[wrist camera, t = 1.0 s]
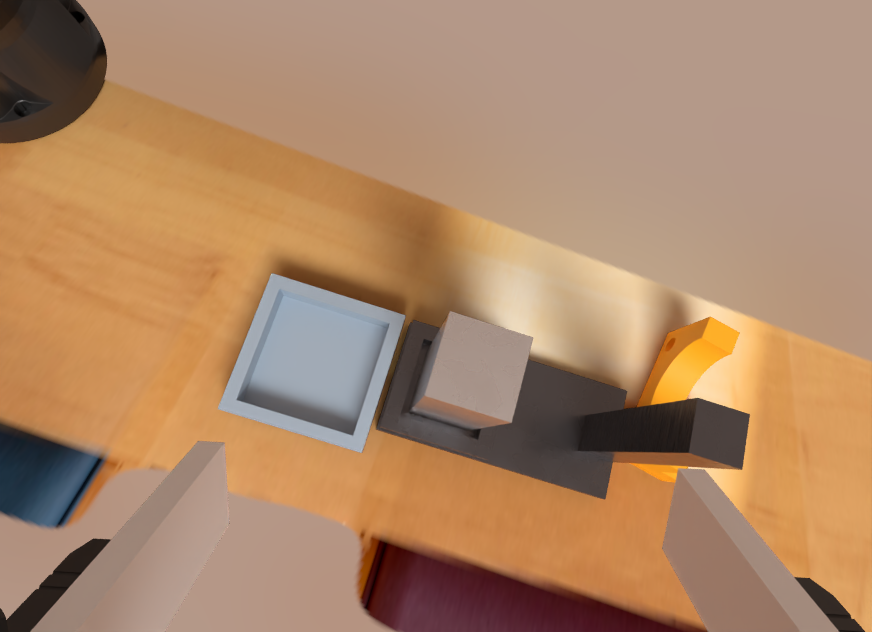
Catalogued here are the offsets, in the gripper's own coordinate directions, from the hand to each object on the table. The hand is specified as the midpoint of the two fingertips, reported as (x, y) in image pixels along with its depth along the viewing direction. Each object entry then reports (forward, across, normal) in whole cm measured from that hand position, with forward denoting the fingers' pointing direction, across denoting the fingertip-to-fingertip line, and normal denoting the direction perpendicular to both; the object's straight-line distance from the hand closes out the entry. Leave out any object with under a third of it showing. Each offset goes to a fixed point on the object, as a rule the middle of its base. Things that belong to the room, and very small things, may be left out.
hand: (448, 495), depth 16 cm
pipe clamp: (+30, +19, -10) cm, 37 cm away
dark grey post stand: (+28, +5, -10) cm, 30 cm away
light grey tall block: (+27, 0, -8) cm, 28 cm away
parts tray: (+28, -10, -7) cm, 30 cm away
